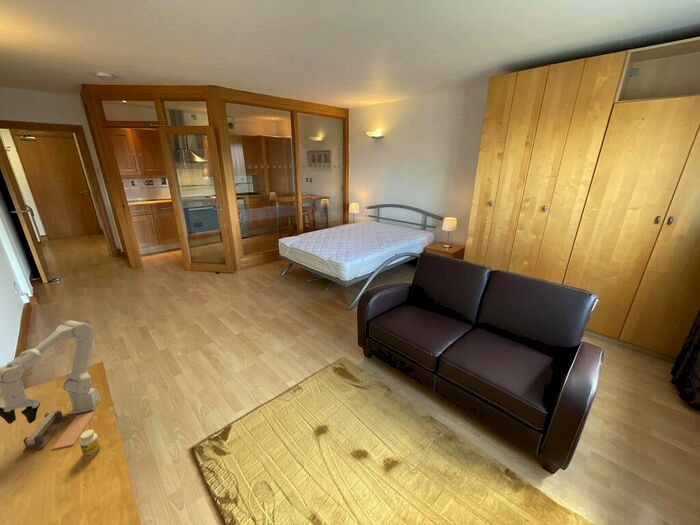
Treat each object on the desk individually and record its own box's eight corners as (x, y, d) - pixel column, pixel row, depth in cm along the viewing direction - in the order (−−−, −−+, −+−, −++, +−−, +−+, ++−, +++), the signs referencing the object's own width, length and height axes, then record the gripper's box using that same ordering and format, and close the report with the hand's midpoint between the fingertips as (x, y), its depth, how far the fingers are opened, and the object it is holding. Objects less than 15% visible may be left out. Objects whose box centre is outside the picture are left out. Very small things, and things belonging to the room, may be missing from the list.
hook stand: (50, 420, 129) (47, 411, 128) (66, 417, 131) (63, 408, 130) (23, 453, 114) (19, 443, 113) (42, 449, 116) (38, 439, 114)
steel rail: (52, 414, 129) (51, 410, 128) (59, 413, 129) (58, 409, 129) (27, 445, 114) (25, 440, 113) (35, 443, 115) (33, 439, 114)
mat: (95, 412, 134) (94, 411, 134) (73, 445, 118) (73, 444, 118) (76, 416, 132) (76, 415, 132) (52, 450, 116) (51, 448, 116)
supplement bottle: (81, 460, 112) (75, 441, 109) (86, 449, 116) (80, 430, 114) (99, 455, 114) (93, 436, 112) (102, 444, 119) (97, 425, 116)
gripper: (-18, 401, 108) (-9, 430, 111) (23, 400, 109) (31, 428, 113) (2, 388, 115) (11, 416, 118) (41, 388, 116) (48, 415, 120)
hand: (22, 421), depth 116 cm, fingers open, 7 cm apart
